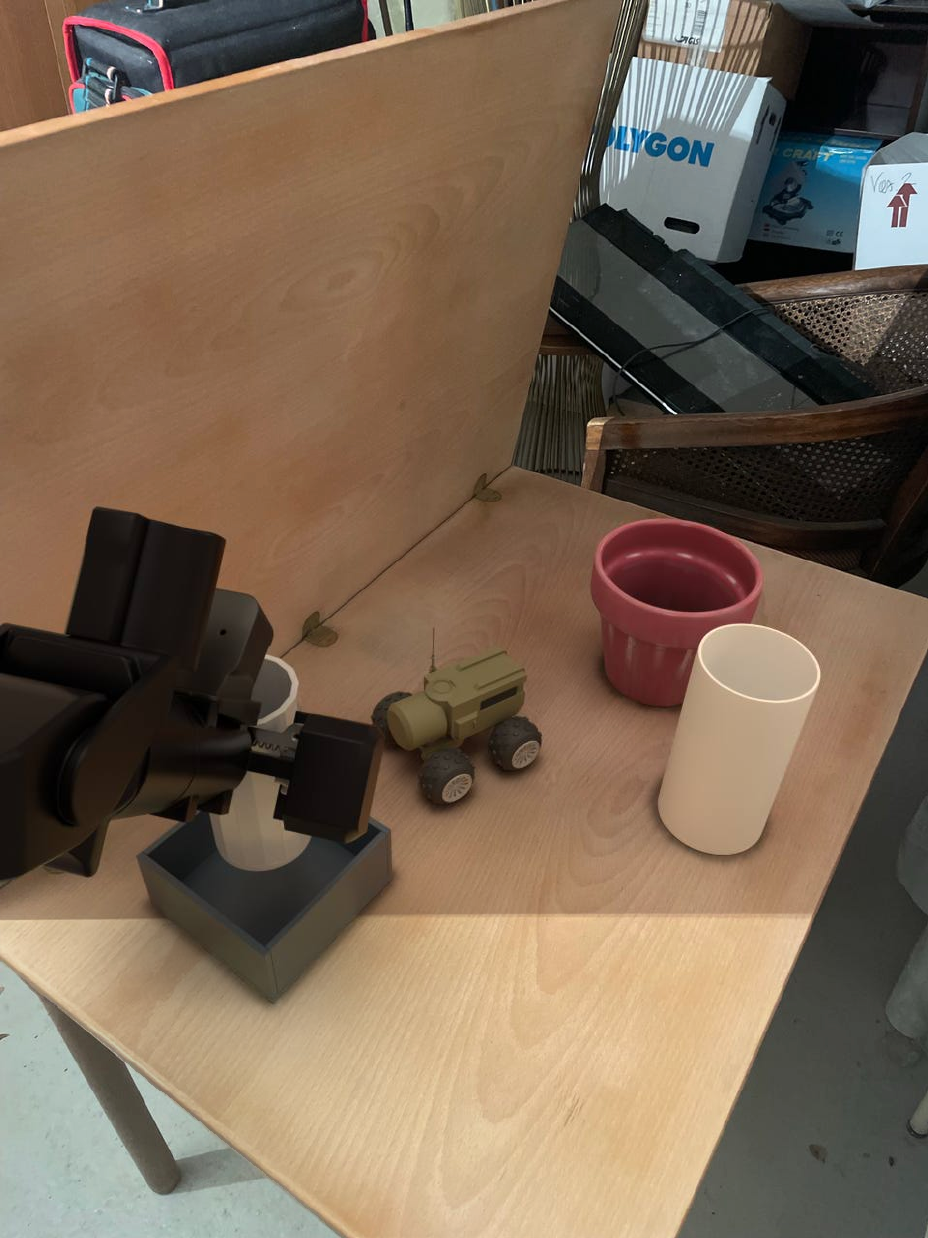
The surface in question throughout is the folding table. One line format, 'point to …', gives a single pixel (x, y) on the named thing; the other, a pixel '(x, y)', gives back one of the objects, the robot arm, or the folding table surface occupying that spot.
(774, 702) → the cup
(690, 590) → the flower pot
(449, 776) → the toy vehicle
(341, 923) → the open box
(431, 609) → the folding table surface
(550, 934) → the folding table surface
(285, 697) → the tumbler
